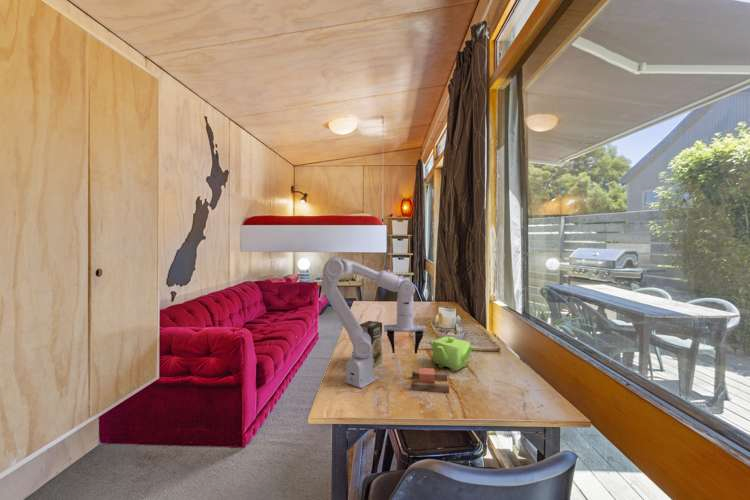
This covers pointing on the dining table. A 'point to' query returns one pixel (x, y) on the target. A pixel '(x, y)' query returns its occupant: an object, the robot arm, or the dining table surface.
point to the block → (426, 375)
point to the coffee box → (374, 339)
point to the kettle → (451, 352)
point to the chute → (430, 386)
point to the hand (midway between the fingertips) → (404, 352)
